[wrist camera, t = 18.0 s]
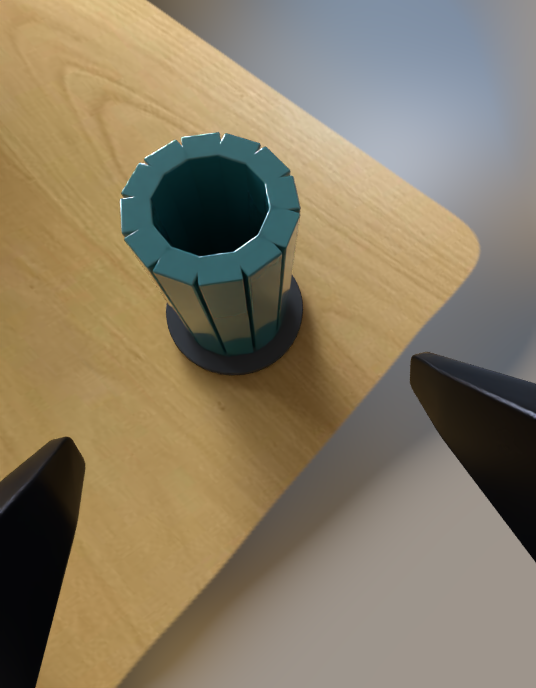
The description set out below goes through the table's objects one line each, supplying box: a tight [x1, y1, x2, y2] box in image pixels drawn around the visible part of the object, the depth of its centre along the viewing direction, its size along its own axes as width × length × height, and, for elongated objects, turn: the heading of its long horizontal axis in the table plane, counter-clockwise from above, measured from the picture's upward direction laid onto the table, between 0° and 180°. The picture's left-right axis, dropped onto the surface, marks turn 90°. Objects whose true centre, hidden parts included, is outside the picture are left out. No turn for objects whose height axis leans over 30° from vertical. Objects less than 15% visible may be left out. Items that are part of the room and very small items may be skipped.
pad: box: [166, 275, 303, 375], centre depth 23 cm, size 9×9×1 cm
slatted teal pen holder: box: [120, 132, 301, 357], centre depth 18 cm, size 7×7×10 cm
